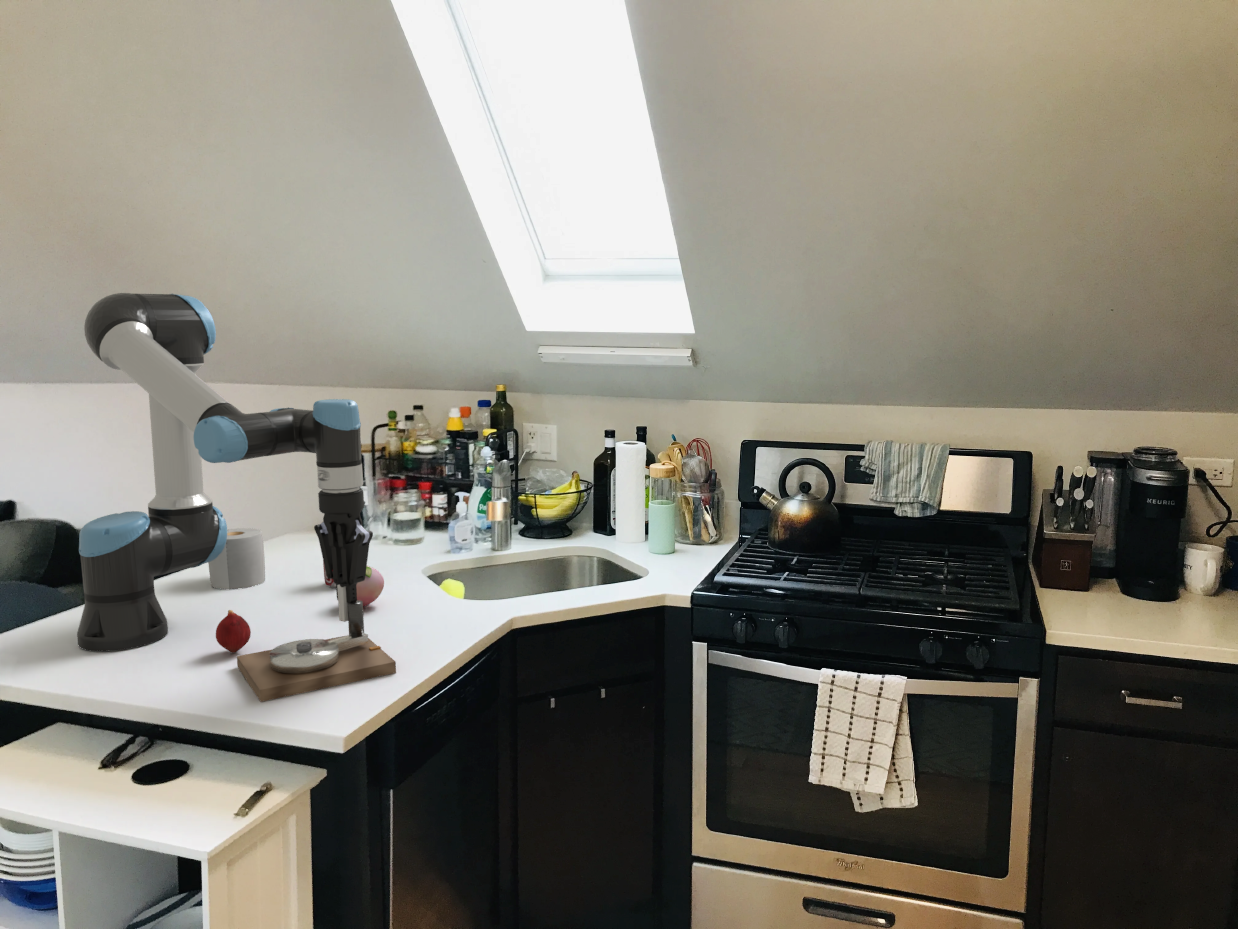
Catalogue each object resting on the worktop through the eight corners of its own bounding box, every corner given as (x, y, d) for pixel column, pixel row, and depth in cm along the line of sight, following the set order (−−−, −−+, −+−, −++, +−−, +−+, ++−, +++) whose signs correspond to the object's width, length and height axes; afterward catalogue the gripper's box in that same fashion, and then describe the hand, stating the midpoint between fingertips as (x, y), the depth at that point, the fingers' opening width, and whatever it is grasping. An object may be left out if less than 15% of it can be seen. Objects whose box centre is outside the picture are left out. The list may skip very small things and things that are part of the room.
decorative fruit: (334, 605, 194) (332, 559, 192) (371, 598, 199) (369, 553, 198) (353, 616, 187) (351, 568, 185) (390, 608, 192) (388, 561, 190)
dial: (290, 678, 147) (287, 631, 146) (258, 662, 155) (255, 616, 154) (381, 651, 160) (379, 606, 159) (348, 637, 167) (346, 594, 166)
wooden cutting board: (260, 702, 144) (259, 688, 144) (237, 667, 159) (236, 654, 159) (396, 672, 156) (395, 660, 156) (362, 642, 171) (362, 631, 170)
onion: (256, 646, 169) (253, 605, 168) (244, 658, 163) (241, 614, 162) (224, 647, 169) (221, 605, 168) (211, 658, 163) (208, 615, 162)
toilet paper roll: (267, 585, 209) (264, 536, 207) (210, 592, 204) (206, 541, 202) (264, 573, 220) (261, 526, 218) (209, 579, 215) (206, 530, 213)
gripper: (298, 488, 159) (307, 618, 163) (348, 496, 152) (355, 632, 156) (333, 481, 166) (341, 607, 169) (382, 489, 158) (389, 619, 162)
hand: (348, 619), depth 163 cm, fingers closed
